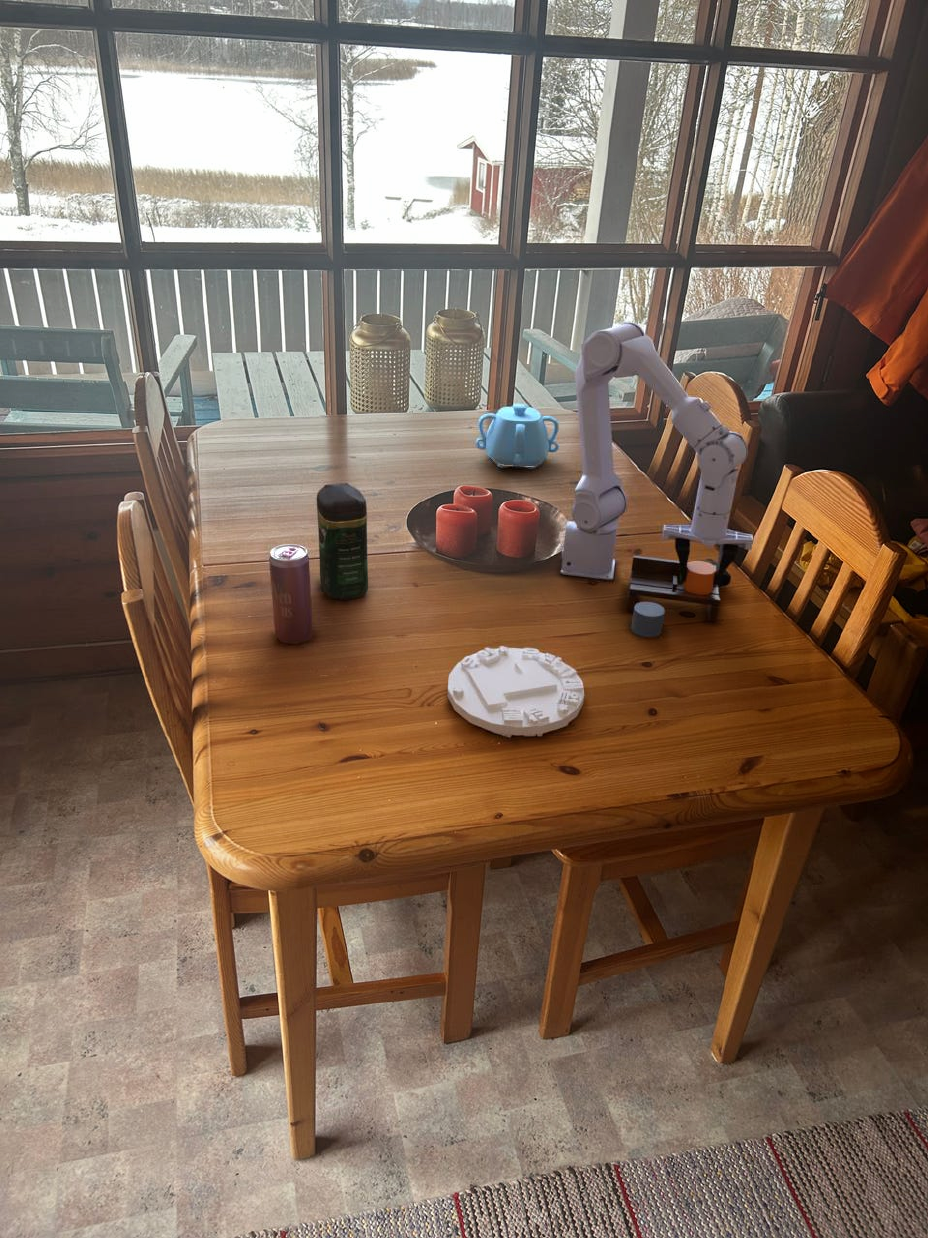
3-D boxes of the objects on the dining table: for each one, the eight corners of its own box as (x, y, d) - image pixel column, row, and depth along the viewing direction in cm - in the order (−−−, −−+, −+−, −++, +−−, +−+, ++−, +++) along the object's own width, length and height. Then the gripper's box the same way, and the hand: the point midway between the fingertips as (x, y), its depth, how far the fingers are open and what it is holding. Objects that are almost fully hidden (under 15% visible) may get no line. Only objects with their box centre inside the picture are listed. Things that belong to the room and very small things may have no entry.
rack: (626, 612, 157) (631, 578, 154) (628, 587, 165) (633, 555, 161) (715, 623, 155) (722, 590, 152) (713, 598, 162) (720, 565, 159)
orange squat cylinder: (683, 593, 155) (686, 572, 153) (682, 579, 160) (686, 559, 158) (713, 596, 155) (717, 575, 153) (712, 583, 159) (716, 562, 157)
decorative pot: (564, 465, 215) (570, 409, 208) (512, 479, 206) (516, 420, 199) (519, 444, 226) (524, 390, 219) (468, 456, 217) (471, 400, 210)
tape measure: (730, 590, 165) (734, 572, 163) (697, 595, 163) (700, 576, 161) (710, 573, 171) (714, 555, 169) (677, 577, 169) (681, 559, 167)
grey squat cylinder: (630, 635, 151) (633, 614, 149) (631, 620, 155) (634, 599, 153) (661, 639, 150) (664, 618, 148) (661, 624, 154) (665, 603, 152)
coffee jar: (373, 598, 158) (372, 498, 148) (328, 604, 155) (323, 504, 146) (359, 572, 166) (357, 476, 156) (316, 578, 163) (311, 481, 154)
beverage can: (319, 630, 148) (315, 547, 141) (302, 648, 143) (296, 564, 136) (286, 623, 150) (280, 540, 142) (268, 641, 145) (261, 556, 137)
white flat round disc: (450, 656, 143) (451, 641, 141) (576, 662, 143) (578, 647, 141) (444, 736, 126) (445, 719, 124) (587, 743, 126) (590, 726, 124)
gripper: (667, 512, 147) (655, 586, 154) (760, 522, 145) (743, 597, 152) (667, 495, 153) (656, 567, 160) (757, 505, 151) (741, 577, 158)
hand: (698, 580), depth 156 cm, fingers closed on orange squat cylinder, 5 cm apart
